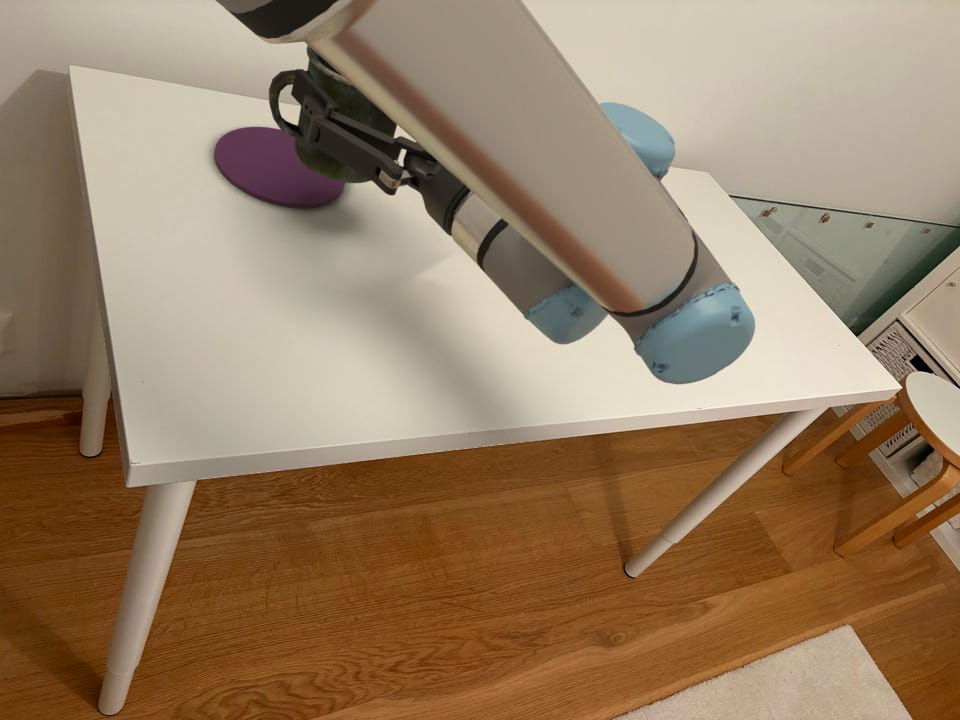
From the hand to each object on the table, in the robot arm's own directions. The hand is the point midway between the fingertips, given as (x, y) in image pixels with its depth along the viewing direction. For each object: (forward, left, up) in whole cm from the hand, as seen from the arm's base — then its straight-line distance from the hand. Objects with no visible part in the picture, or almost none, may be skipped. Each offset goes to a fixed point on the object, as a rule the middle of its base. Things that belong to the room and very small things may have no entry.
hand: (350, 80), depth 75 cm
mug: (0, 0, -10) cm, 10 cm away
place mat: (-9, +3, -18) cm, 20 cm away
